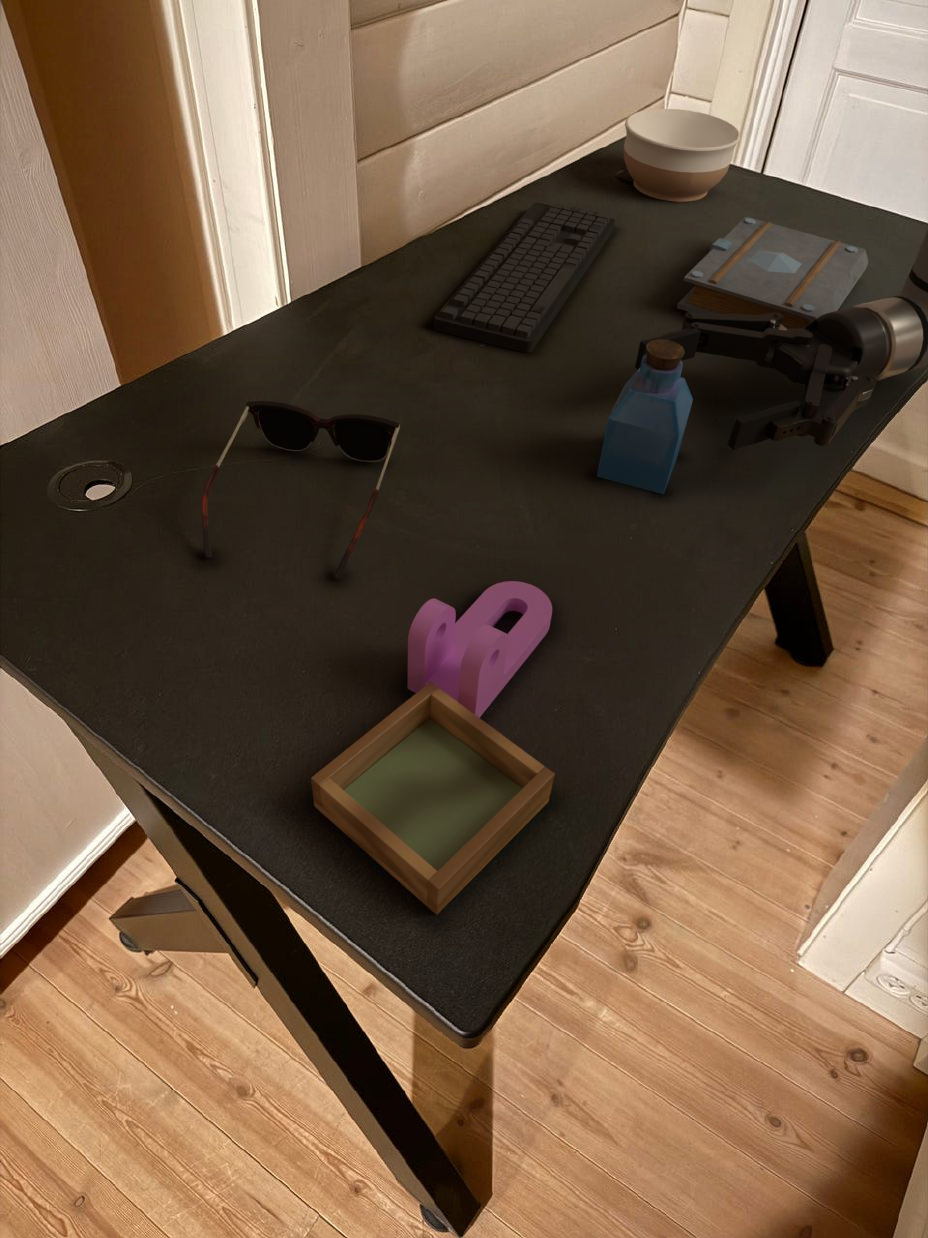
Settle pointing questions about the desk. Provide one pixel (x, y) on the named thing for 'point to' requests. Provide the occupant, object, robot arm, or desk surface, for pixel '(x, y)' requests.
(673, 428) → the blue bottle with cork
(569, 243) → the keyboard
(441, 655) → the bracket
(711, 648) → the desk surface
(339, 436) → the sunglasses
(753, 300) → the book
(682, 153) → the bowl
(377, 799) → the holder
